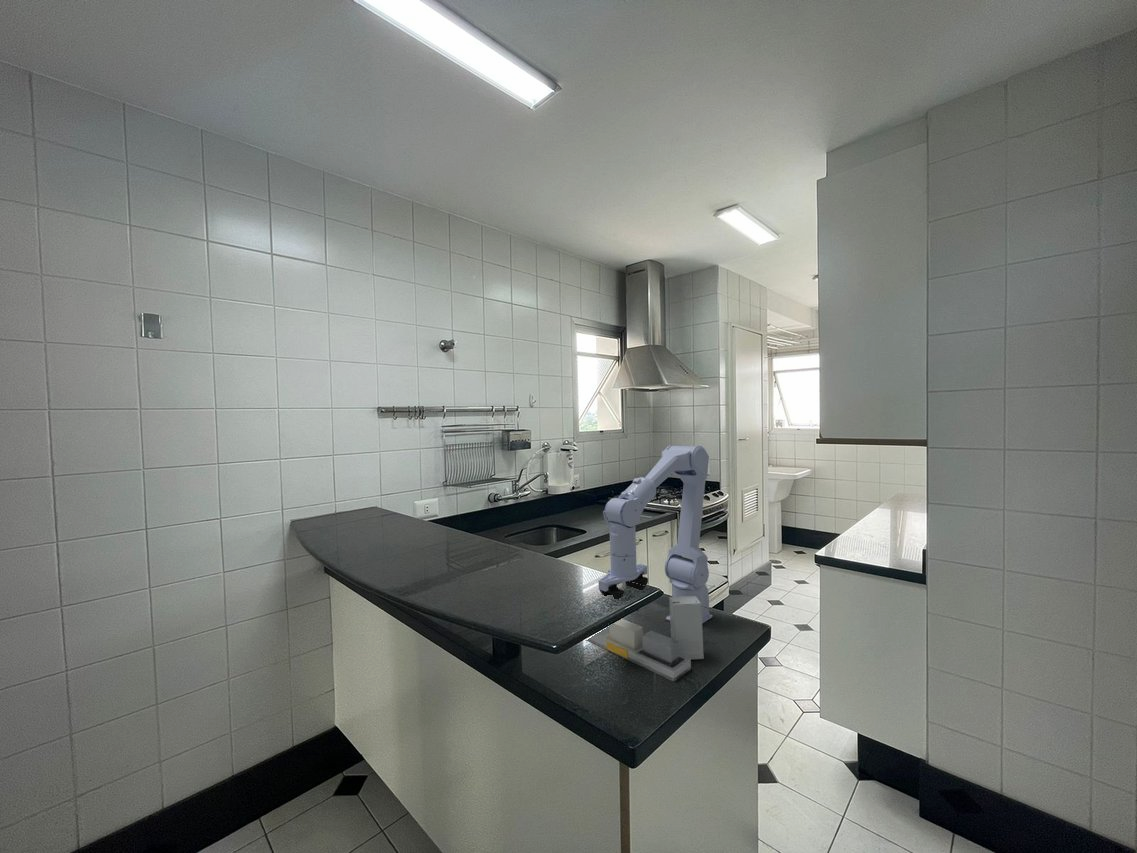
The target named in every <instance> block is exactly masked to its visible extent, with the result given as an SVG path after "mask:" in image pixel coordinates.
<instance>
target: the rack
mask: <svg viewBox="0 0 1137 853" xmlns="http://www.w3.org/2000/svg"><path fill="white" fill-rule="evenodd" d="M586 641H587V642H589V643H591V644H594V645H595V646H598V647H600V648H602V649H604V650H607V651H608V652H611V653H613V654H614V655H617V656H618V657H620V658H621V657H622V658H623V659H626V660H627V661H629V662H631V663H633V664H636V665H638V666H640V667H642V668H644V669H646V670H648V671H650V672H652V673H654V674H657V675H658V676H661V677H662V678H665V679H667V680H669V681H671V682H676V681H677V680H678V679H680V678H682V676H684V675H685V674H686V673H687V672H689V671H691V669H692V662H691V660H692V659H689V658H687V657H684V656H682V655H680V650H679V641H676V640H674V639H671V637H669V636H666V635H663V634H661V633H659V632H656V631H653V630H649V631H648V632H645V633H643V635H642V641H643V647H641V648H639V649H638V650H636V651H633V650H631V649H629V648H626V647H624V646H622V645H620V644H618V643H615V642H613V641H611V640H610V626H609V627H607V628H606V629H604V630H602V631H601V632H599V633H597V634H595V635H594V636H592V637H591V638H589V639H588V640H586Z"/></svg>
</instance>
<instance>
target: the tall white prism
mask: <svg viewBox="0 0 1137 853" xmlns="http://www.w3.org/2000/svg"><path fill="white" fill-rule="evenodd" d="M643 628H644V627H643V626H641V625H639V624H636V623H634V622H632V621H628V620H626V619H624V618H621V620H619V621H617V622H615V623H613V624H612V625H610V640H611V641H613V642H615V643H618V644H620V645H622V646H624V647H626V648H629V649H631V650H633V651H636V650H638V649H639V648H641V647H643V641H642V635H644V632H643V630H644V629H643Z"/></svg>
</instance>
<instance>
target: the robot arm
mask: <svg viewBox="0 0 1137 853" xmlns="http://www.w3.org/2000/svg"><path fill="white" fill-rule="evenodd" d="M660 456H661V458H660V459H659V460H658V461H657V463H656V464H655V465H654V466H653V467H652V469H651V470H650V471H649V472H648V473H647V475H646V476H645V477H642V476H641V477H639V476H638V477H635V478H634V479H633V480H632V483H631V484H630V485H629V486H628V487H627V488H626V489H625V490H623V491H622V492H621V493H620V495H619V496H618V497H613V498H611V499H609V501H607V503H606V504H605V506H604V510H603V511H602V515H603V519H604V520H605V521H606V524H607V529H608V531H609V552H610V555H609V556H610V568H609V569H608V570H607V574H606V575H605V576H603V578H601V579H599V580H598V583H597V584H598V590H599V591H600V593H601V594H602V596H603V595H604V596H607V595H613V597H614V599H619V598H621V597H622V598H623V597H624V594H625V590H623V589H620V588H619V587H618V586H619V585H620V584H623V583H625V585H626V587H627V586H630V587H633V588H636V589H639V590H643V589H644V588H645V589H646V586H647V585H648V583H649V578H648V577H646V576H647V575H648V566H647V565H646V564H642V563H640V564H638V563H637V542H636V541H637V540H636V538H637V537H636V534H637V533H636V525H638V524H639V523H640V520H641V518H642V513H643V512H644V508H646V507H647V505H648V504H649V503H650V502H651V501H652V500H653V499H654V498H655V497H656V496H657V487H659V486H660V485H661V484H662V483H663V482H664V481H666V479H668V478H669V477H670V476H671V475H672V474H674V475H675V476H676V477H678V478H679V479H680V481H681V482H683V483H682V484H683V488H682V498H681V506H680V514H679V525H678V533H677V535H678V536H677V543H676V544H675V545H674V546H672V547H670V549H668V555H667V558H666V560H665V562H664V573H665V577H667V578H668V579H669V584H672V585H671V588H672V589H671V590H672V597H686V596H696V597H697V598H698V600H699V601H700V603H701V612H702V624H704V623H706V622H707V621H708V620H710V619H711V618H713V614H710V596H709V595H710V592H709V589H708V586H707V585H706V584H707V582H708V580H709V577H710V571H709V566H708V564H709V563H708V559H709V558H708V556H707V555H706V553H704V551H703V550H702V549H701V548H700V539H701V538H700V537H701V528H702V527H701V526H702V520H703V517H702V516H703V509H704V498H705V487H706V480H707V479H708V470H709V463H710V462H709V460H710V456H709V454H708V452H707V450H706V449H705V447H703V446H702V445H674V444H670V445H669V444H668V445H667V447H666V448H665V449H664V450H662V451H661V455H660ZM629 581H630V582H629ZM632 582H635V583H632ZM636 583H638V584H636ZM640 584H641V585H640ZM643 585H645V586H643ZM645 589H644V590H645ZM702 606H703V607H702ZM704 607H707V608H709V609H707V608H704ZM639 610H640V608H639V609H638V610H635V612H636V611H637V612H638V611H639ZM665 619H666V620H667V621H669V622H671V621H670V615H667V616H666V617H665Z"/></svg>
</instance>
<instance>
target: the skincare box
mask: <svg viewBox="0 0 1137 853" xmlns="http://www.w3.org/2000/svg"><path fill="white" fill-rule="evenodd" d="M668 599H669V600H668V601H669V616H670V621H669V622H670V636H671V637H670V638H671V639H674V640H676V641H679V650H680V655H682V656H684V657H687V658H689V659H691V660H704V659H705V657H704V637H703V636H704V633H703V623H702V612H701V603H700V601H699V600H698V598H697V597H696V596H686V597H673V596H669V598H668Z"/></svg>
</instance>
